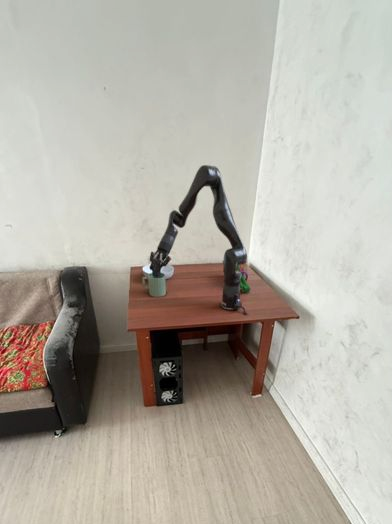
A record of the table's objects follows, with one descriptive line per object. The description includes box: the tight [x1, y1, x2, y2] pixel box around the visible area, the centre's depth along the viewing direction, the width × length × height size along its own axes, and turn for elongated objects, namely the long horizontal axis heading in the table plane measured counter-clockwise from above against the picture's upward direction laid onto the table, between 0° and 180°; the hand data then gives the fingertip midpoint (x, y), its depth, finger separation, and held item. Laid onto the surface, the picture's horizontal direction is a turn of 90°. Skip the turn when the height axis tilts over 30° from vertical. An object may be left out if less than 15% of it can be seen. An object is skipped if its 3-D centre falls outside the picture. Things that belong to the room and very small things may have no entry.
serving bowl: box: [142, 263, 175, 280], centre depth 196 cm, size 21×21×7 cm
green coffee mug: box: [142, 273, 167, 298], centre depth 176 cm, size 14×10×12 cm
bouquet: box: [222, 259, 251, 293], centre depth 189 cm, size 20×16×30 cm
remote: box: [151, 258, 161, 277], centre depth 170 cm, size 3×4×10 cm, turn 57°
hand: (154, 270), depth 169 cm, fingers closed on remote, 4 cm apart
